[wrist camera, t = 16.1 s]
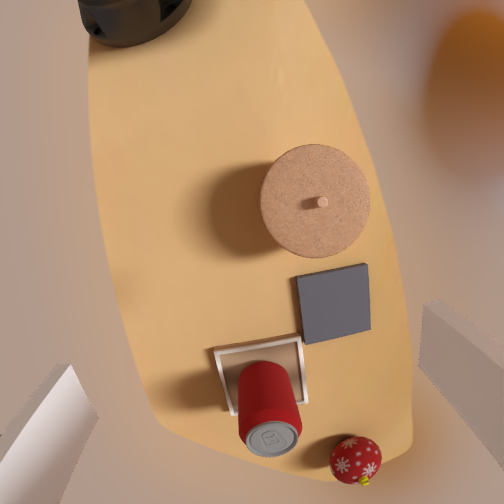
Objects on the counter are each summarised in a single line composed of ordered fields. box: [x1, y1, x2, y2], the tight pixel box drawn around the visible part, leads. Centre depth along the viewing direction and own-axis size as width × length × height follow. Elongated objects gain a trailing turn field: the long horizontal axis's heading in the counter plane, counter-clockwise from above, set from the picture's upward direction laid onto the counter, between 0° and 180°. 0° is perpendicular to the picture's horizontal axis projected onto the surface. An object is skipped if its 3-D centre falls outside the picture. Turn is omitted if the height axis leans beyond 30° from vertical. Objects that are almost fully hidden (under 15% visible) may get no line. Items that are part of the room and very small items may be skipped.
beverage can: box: [238, 361, 302, 457], centre depth 33 cm, size 7×7×12 cm
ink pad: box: [296, 263, 371, 345], centre depth 38 cm, size 9×9×1 cm
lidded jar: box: [259, 144, 370, 258], centre depth 31 cm, size 11×11×9 cm
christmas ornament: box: [330, 437, 382, 486], centre depth 39 cm, size 9×9×10 cm
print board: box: [214, 332, 308, 416], centre depth 39 cm, size 11×11×1 cm
